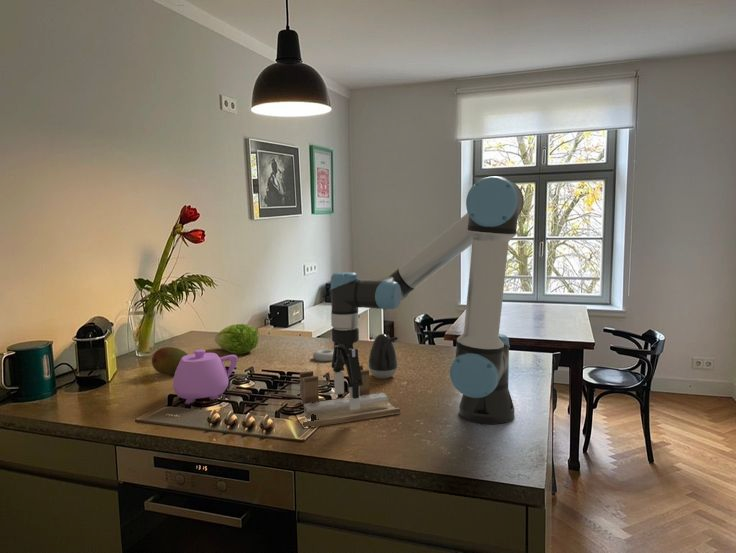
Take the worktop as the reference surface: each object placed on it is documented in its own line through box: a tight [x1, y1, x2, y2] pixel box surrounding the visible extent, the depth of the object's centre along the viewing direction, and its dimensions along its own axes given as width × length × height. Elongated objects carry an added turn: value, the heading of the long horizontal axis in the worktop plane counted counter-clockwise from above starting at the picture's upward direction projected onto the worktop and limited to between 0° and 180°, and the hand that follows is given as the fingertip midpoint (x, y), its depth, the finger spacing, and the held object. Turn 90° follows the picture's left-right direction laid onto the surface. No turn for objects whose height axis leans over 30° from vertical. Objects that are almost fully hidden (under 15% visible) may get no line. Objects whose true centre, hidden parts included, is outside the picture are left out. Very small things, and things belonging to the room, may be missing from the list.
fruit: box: [151, 346, 189, 375], centre depth 190 cm, size 12×13×10 cm
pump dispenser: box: [368, 333, 399, 380], centre depth 183 cm, size 10×10×15 cm
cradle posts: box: [299, 364, 370, 404], centre depth 159 cm, size 6×20×9 cm, turn 111°
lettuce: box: [214, 323, 259, 355], centre depth 221 cm, size 13×22×14 cm
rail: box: [303, 392, 389, 419], centre depth 149 cm, size 4×24×4 cm, turn 111°
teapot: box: [172, 348, 239, 405], centre depth 167 cm, size 20×20×15 cm
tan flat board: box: [301, 401, 401, 427], centre depth 149 cm, size 12×28×1 cm, turn 111°
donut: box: [312, 348, 334, 363], centre depth 208 cm, size 10×4×10 cm
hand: (346, 401), depth 149 cm, fingers open, 13 cm apart
